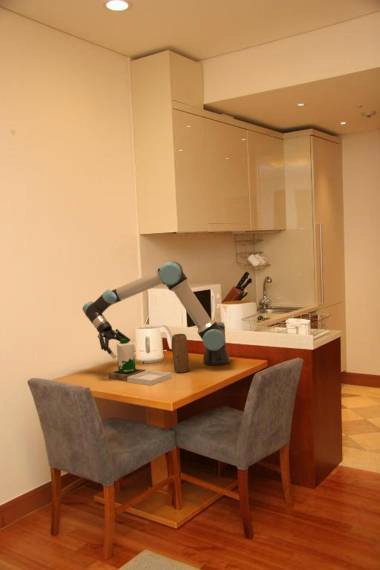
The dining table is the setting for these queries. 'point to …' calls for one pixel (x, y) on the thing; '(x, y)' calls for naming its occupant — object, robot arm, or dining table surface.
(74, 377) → the dining table surface
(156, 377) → the tray
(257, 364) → the dining table surface
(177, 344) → the block
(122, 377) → the dark brown square tray
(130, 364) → the soya milk
